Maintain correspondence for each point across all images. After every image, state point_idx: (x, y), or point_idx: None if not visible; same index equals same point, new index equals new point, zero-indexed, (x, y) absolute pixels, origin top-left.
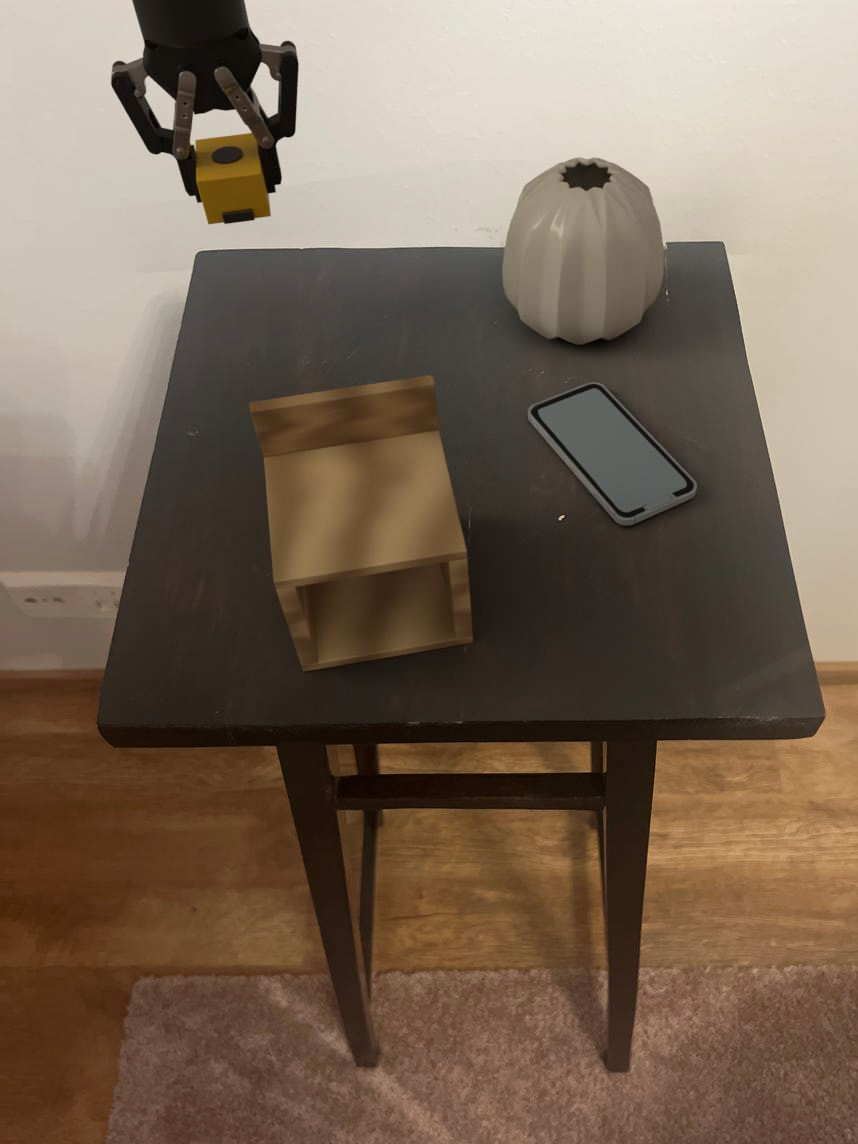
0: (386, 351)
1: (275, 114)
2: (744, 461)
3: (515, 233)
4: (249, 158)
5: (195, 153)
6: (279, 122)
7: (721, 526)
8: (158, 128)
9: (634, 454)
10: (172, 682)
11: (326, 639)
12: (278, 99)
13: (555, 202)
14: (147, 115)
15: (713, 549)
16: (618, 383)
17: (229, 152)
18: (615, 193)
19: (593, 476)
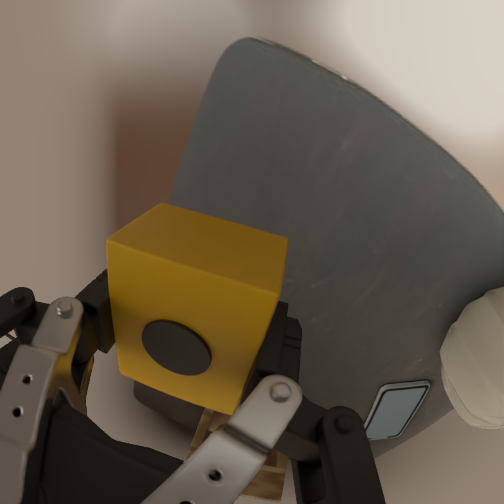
0: (347, 295)
1: (307, 441)
2: (428, 423)
3: (477, 379)
4: (222, 379)
5: (107, 310)
6: (295, 462)
7: (391, 439)
8: (22, 330)
9: (396, 421)
10: (154, 403)
11: (213, 427)
12: (325, 472)
13: (490, 422)
14: (2, 380)
15: (378, 444)
16: (440, 379)
17: (180, 351)
18: None
19: (370, 425)
